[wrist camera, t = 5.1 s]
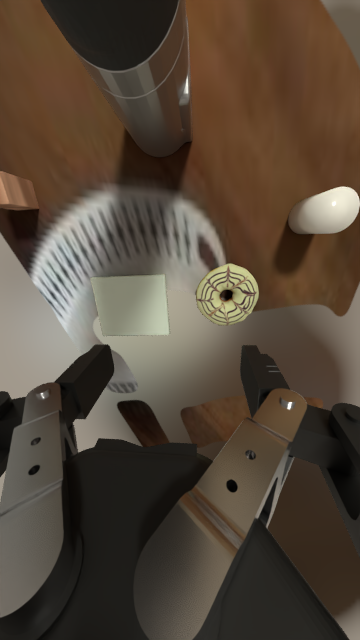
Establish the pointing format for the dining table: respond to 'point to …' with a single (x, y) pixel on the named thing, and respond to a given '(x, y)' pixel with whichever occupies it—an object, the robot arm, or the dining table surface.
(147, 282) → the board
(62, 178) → the dining table surface
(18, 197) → the terracotta block
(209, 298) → the decorated donut
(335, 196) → the white rounded cylinder
